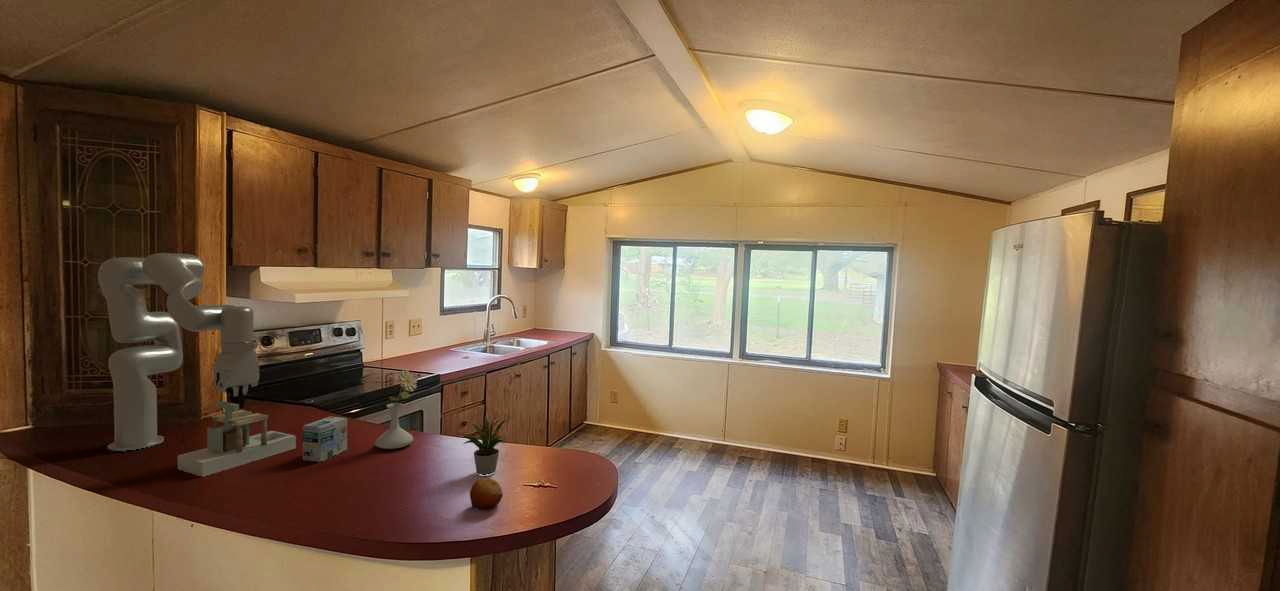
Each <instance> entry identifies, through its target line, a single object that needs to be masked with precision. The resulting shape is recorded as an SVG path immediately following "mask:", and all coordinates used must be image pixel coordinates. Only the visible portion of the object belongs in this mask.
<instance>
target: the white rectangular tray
mask: <svg viewBox="0 0 1280 591" xmlns="http://www.w3.org/2000/svg"><path fill="white" fill-rule="evenodd" d="M296 448H297V436H296V435H293V434H288V433H284V432H280V431H275V430H268V431H267V444H266V445H261V433H257V434H254V435H249V445H246V446H245V447H242V452H236V449H234V450H231V451H227V452H225V451H223V452H217V451H213V450H209V449H207V447H205V448H201V449H198V450H194V451H190V452H186V453H182V454H178V455H177V470H178V469H179V471H181V470H183V471H182V472H185V473H188V472H189V473H188V474H191V473H192V475H194V474H195V475H194V476H198V477H201V476H202V478H204V477H207V475H208V476H210V474H211V475H213V473H214V474H217V473H220V472H222V471H223V470H224V471H227V470H230V469H233V468H236V467H240V466H243V465H246V464H249V463H253V462H255V461H259V460H262V459H265V458H268V457H272V456H275V455H278V454H281V453H285V452H287V451H291V450H294V449H296ZM252 461H253V462H252Z"/></svg>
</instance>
